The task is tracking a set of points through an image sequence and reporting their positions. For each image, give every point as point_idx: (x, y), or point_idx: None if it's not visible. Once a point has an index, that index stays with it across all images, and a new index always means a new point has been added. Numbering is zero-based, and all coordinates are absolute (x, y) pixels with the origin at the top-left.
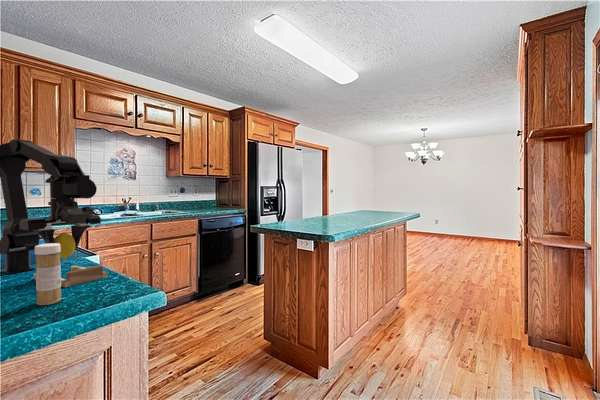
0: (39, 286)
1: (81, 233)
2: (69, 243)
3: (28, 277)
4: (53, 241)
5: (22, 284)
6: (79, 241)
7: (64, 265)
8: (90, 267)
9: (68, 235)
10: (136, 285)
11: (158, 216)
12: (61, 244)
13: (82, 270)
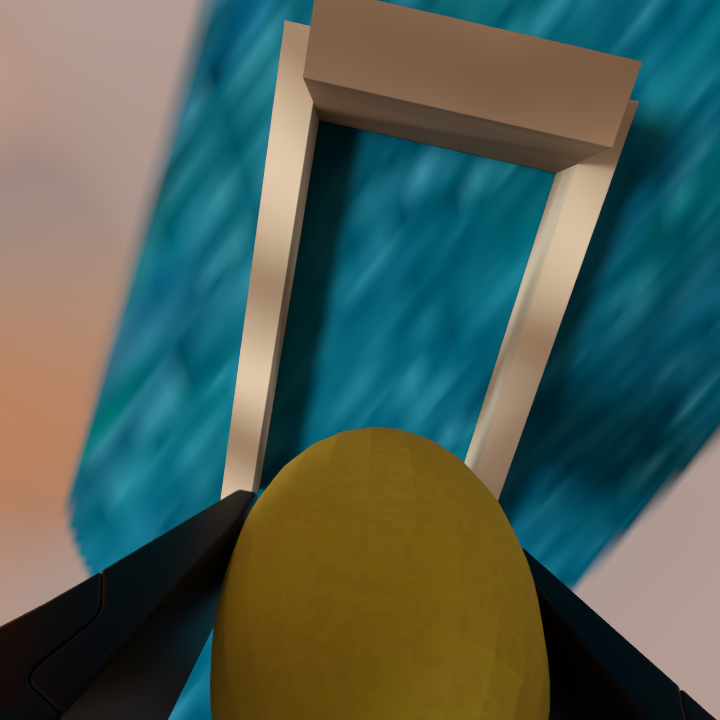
0: None
1: (2, 655)
2: (404, 489)
3: None
4: (616, 674)
5: (576, 487)
6: (163, 534)
7: None
8: (397, 83)
9: (349, 712)
10: None
11: None
12: (510, 539)
13: (525, 39)
